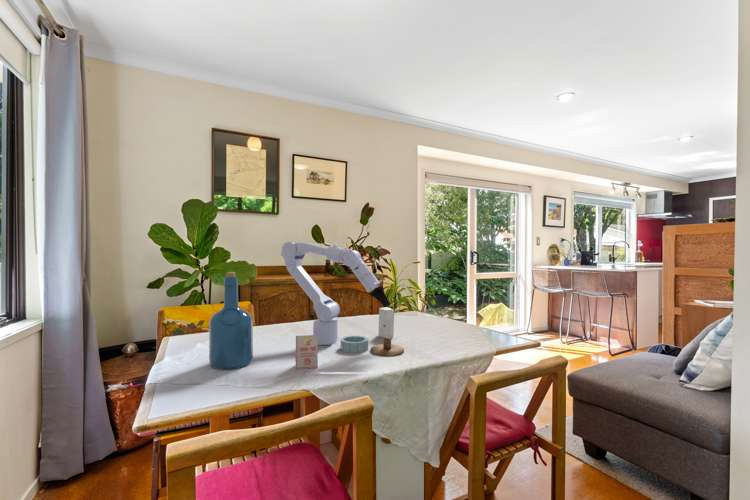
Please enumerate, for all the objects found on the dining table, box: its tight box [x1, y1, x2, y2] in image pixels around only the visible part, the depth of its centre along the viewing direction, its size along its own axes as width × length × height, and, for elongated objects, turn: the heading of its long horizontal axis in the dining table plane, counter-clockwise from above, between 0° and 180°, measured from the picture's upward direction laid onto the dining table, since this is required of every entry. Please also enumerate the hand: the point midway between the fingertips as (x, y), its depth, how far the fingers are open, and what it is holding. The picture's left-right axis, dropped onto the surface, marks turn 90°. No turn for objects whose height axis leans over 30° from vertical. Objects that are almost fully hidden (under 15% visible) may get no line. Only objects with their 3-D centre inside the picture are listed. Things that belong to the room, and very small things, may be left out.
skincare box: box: [378, 306, 395, 338], centre depth 153 cm, size 6×4×12 cm
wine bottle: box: [208, 271, 254, 370], centre depth 120 cm, size 14×13×30 cm
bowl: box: [340, 335, 369, 354], centre depth 136 cm, size 10×10×4 cm
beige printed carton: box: [295, 334, 319, 370], centre depth 118 cm, size 4×7×10 cm, turn 100°
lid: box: [370, 337, 405, 357], centre depth 132 cm, size 12×12×5 cm
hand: (387, 305), depth 138 cm, fingers open, 7 cm apart
